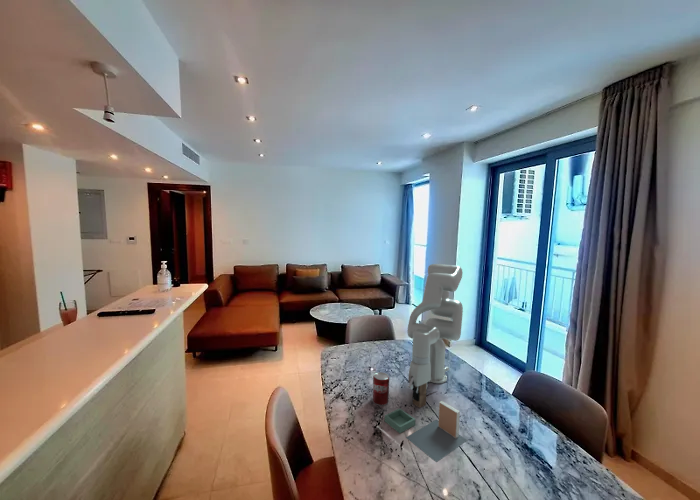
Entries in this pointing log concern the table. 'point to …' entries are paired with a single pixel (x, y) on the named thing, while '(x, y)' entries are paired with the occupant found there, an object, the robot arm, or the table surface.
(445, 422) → the tile
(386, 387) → the soda can
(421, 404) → the brown wooden block
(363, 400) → the table surface
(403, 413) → the holder
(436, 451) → the mat
